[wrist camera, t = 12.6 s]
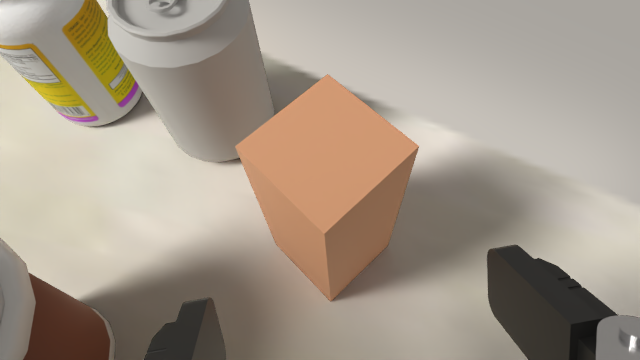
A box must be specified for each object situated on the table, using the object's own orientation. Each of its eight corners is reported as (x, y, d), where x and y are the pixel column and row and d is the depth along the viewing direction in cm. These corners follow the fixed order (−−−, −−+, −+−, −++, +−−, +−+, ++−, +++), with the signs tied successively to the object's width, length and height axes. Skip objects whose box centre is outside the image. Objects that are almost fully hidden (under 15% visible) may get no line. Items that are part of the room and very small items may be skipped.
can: (287, 91, 33) (262, -57, 22) (259, 177, 30) (213, 52, 19) (195, 76, 34) (128, -72, 23) (159, 157, 31) (61, 30, 20)
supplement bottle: (132, 50, 36) (32, -116, 24) (157, 107, 33) (59, -50, 21) (51, 82, 34) (-94, -76, 23) (71, 144, 32) (-83, 0, 20)
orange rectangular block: (276, 244, 27) (234, 146, 17) (332, 193, 29) (327, 74, 18) (330, 301, 26) (324, 233, 15) (388, 245, 27) (418, 146, 16)
